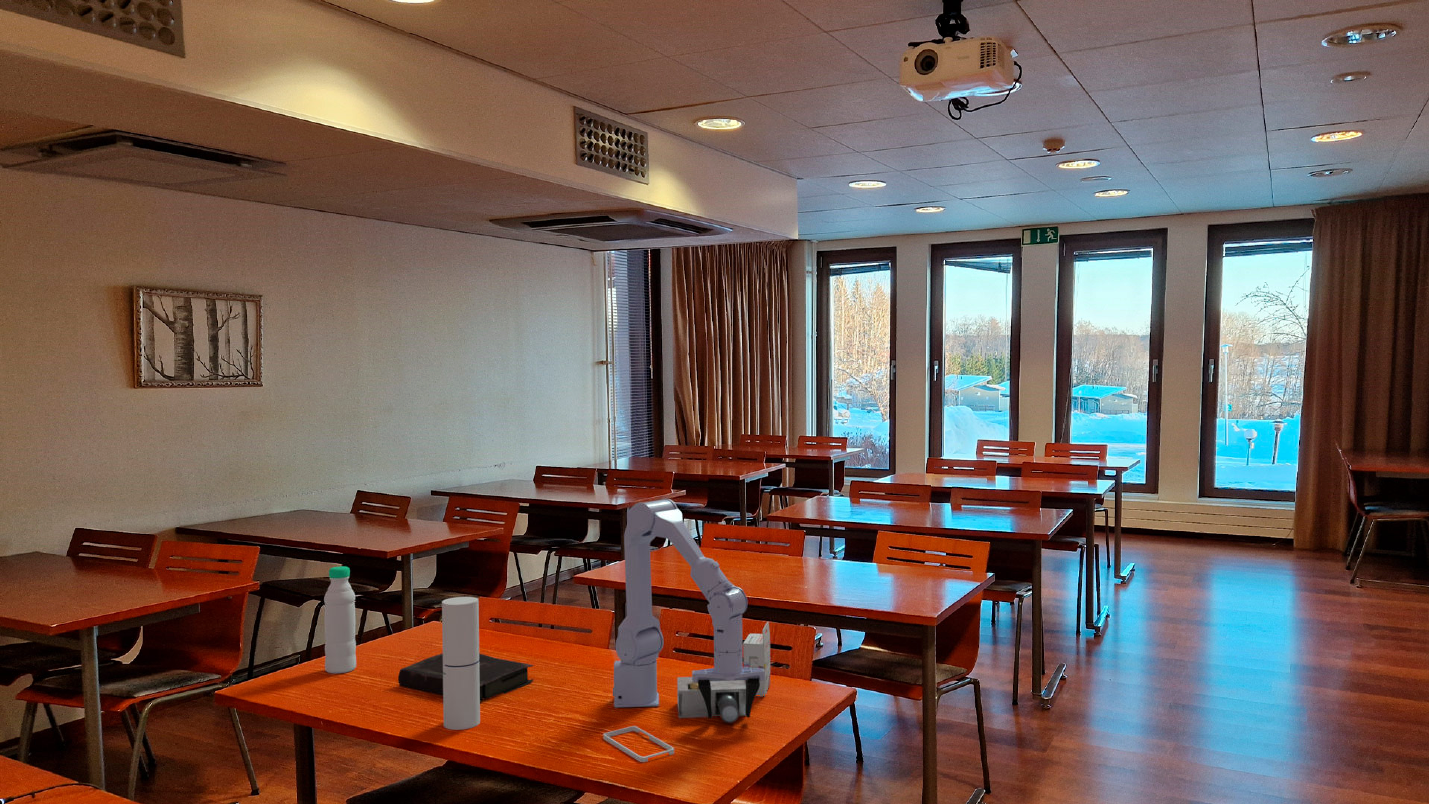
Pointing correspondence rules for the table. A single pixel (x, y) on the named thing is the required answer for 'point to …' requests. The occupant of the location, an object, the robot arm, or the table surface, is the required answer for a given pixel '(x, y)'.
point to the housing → (694, 702)
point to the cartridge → (727, 706)
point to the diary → (492, 676)
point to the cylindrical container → (461, 662)
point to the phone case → (642, 759)
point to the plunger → (693, 686)
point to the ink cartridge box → (758, 656)
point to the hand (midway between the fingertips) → (728, 716)
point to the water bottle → (340, 623)
